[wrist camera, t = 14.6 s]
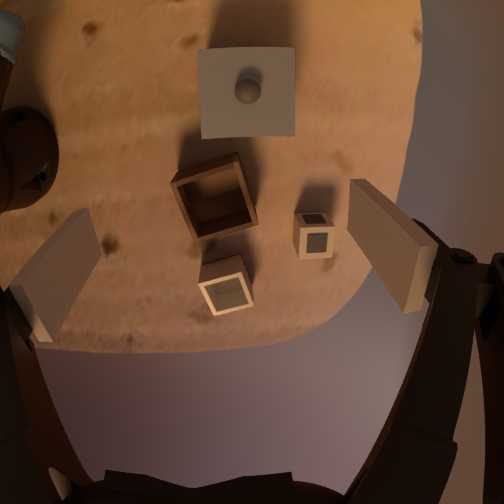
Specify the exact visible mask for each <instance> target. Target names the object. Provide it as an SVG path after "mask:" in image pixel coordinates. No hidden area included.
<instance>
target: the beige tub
mask: <svg viewBox="0 0 504 504" xmlns="http://www.w3.org/2000/svg"><path fill="white" fill-rule="evenodd" d="M198 284H199V287H200V289H201V291H202V293H203V295H204V297H205V299H206V301H207V303H208V305H209V307H210V309H211V311H212V313H213V315H214V316H216V315H220V314H224V313H228V312H232V311H236V310H240V309H244V308H248V307H252V306H254V297H253V287H252V284H251V281H250V279H249V276H248V273H247V271H246V268H245V265H244V263H243V260H242V257H241V254H240V255H236V256H233V257H229V258H226V259H222V260H219V261H215V262H212V263H208V264H205V265H201V268H200V275H199V282H198Z"/></svg>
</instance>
